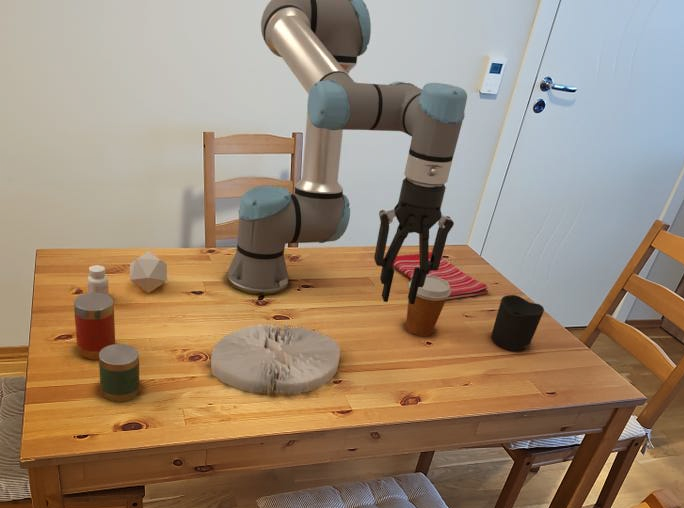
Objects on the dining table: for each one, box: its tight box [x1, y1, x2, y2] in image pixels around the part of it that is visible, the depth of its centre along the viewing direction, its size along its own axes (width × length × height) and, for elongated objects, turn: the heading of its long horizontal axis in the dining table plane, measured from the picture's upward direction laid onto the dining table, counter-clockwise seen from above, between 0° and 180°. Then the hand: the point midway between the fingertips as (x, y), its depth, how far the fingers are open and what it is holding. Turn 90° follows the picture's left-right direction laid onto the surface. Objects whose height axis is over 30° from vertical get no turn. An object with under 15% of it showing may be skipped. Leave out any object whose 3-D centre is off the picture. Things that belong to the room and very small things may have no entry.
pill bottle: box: [87, 264, 110, 296], centre depth 142 cm, size 4×4×8 cm
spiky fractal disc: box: [210, 323, 341, 396], centre depth 130 cm, size 22×28×3 cm
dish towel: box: [392, 251, 489, 301], centre depth 174 cm, size 17×24×3 cm
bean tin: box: [98, 343, 140, 402], centre depth 115 cm, size 7×7×8 cm
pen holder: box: [490, 294, 545, 353], centre depth 146 cm, size 9×9×10 cm
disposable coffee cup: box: [405, 275, 451, 337], centre depth 146 cm, size 10×10×12 cm
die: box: [129, 250, 168, 294], centre depth 150 cm, size 8×9×10 cm
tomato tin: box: [73, 292, 116, 361], centre depth 124 cm, size 7×7×11 cm
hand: (397, 299), depth 124 cm, fingers open, 4 cm apart
